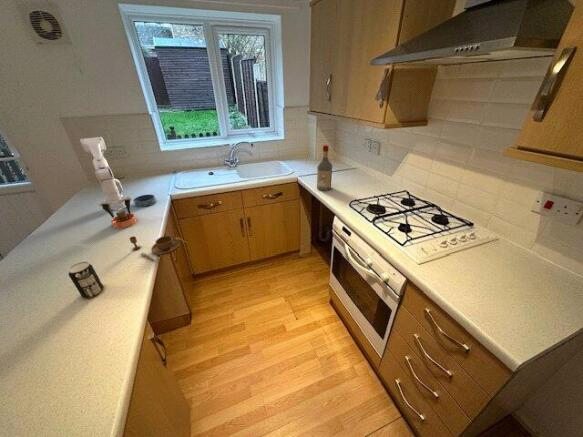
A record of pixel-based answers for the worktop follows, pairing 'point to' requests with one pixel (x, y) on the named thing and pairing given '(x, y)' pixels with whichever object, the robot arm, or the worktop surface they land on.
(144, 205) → the blue bowl
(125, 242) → the worktop surface
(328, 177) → the liquor
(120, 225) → the terracotta bowl
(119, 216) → the spice jar
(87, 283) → the beverage can
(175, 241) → the place setting
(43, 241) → the worktop surface
